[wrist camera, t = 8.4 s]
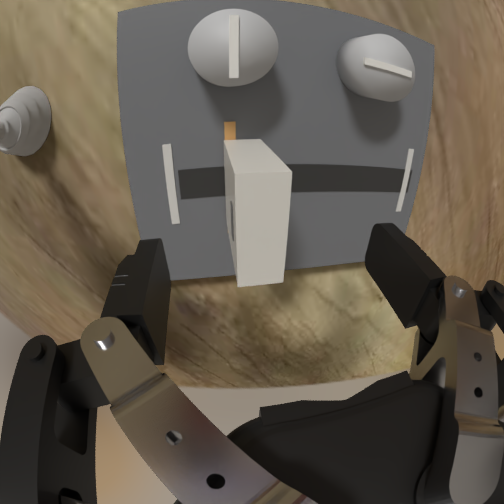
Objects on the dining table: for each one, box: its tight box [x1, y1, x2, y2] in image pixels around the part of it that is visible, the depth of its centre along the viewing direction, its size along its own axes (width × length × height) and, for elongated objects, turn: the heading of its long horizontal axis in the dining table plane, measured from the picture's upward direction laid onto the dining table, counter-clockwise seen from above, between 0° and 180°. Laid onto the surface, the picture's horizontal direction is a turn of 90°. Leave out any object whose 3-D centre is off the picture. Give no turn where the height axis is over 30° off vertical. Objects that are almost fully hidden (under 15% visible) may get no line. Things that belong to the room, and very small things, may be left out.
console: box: [117, 0, 434, 280], centre depth 14 cm, size 20×18×4 cm
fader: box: [224, 139, 292, 287], centre depth 13 cm, size 2×5×6 cm, turn 1°
